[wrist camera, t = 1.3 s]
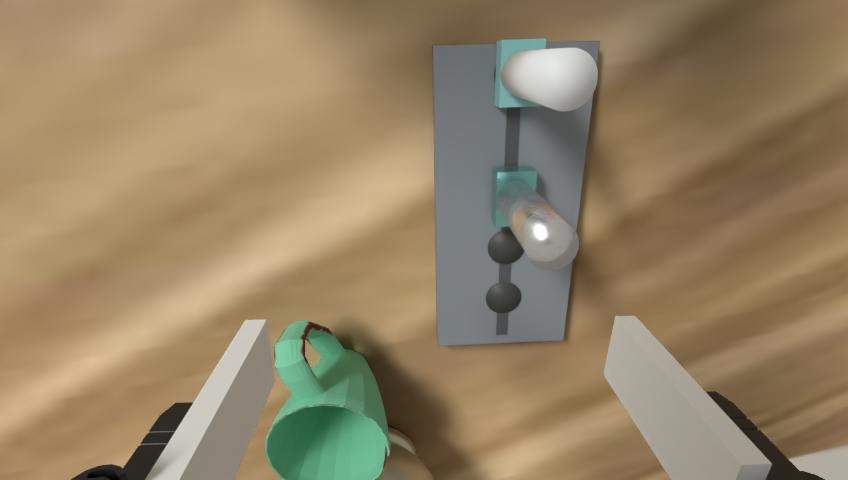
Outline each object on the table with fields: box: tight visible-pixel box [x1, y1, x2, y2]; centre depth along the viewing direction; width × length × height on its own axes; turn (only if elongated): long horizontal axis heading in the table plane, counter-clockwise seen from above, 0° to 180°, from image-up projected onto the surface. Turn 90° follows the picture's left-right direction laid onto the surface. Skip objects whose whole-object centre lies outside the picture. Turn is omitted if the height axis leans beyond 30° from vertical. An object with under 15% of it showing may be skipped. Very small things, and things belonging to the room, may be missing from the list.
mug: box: [265, 321, 391, 480], centre depth 38 cm, size 15×10×10 cm
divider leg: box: [491, 165, 579, 270], centre depth 30 cm, size 4×3×11 cm
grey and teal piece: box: [432, 39, 600, 346], centre depth 32 cm, size 26×12×12 cm, turn 1°
